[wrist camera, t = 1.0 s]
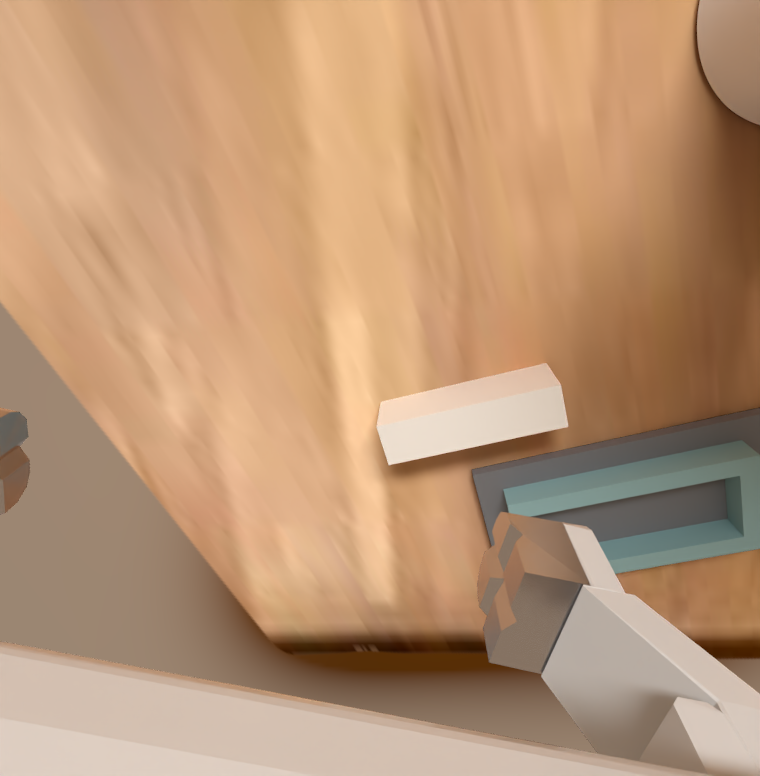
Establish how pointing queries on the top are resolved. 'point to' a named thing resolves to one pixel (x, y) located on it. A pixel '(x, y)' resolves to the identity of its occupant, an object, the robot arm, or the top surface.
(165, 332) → the top surface
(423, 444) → the long cream plank
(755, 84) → the robot arm
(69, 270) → the top surface
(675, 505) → the cradle jig
